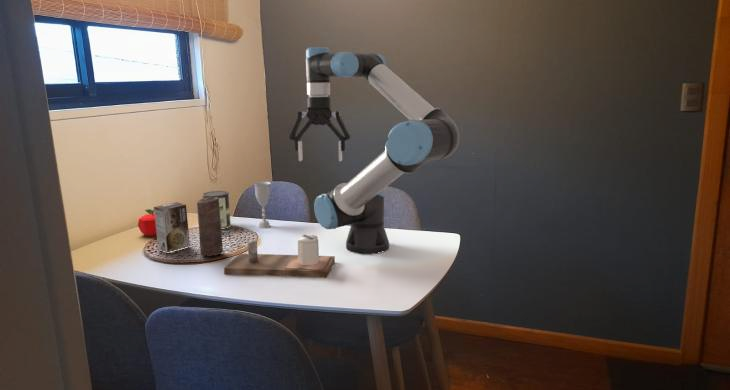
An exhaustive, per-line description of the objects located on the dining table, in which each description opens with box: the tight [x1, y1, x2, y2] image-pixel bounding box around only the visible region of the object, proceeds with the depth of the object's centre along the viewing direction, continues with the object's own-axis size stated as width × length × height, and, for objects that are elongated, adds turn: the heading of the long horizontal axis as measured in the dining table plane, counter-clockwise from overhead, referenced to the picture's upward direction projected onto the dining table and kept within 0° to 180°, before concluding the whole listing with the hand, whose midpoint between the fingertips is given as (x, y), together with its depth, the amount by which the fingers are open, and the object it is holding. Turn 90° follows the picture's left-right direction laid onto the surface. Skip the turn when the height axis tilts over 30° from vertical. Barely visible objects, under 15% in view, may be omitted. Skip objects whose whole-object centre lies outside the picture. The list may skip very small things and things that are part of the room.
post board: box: [223, 240, 336, 278], centre depth 166 cm, size 32×14×8 cm, turn 83°
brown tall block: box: [196, 197, 224, 257], centre depth 178 cm, size 8×7×20 cm
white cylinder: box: [297, 234, 320, 265], centre depth 165 cm, size 6×6×8 cm
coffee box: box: [153, 201, 191, 252], centre depth 185 cm, size 9×6×16 cm
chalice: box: [253, 181, 272, 229], centre depth 213 cm, size 7×7×18 cm
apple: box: [137, 209, 157, 237], centre depth 205 cm, size 11×11×10 cm
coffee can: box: [201, 190, 232, 229], centre depth 214 cm, size 10×10×14 cm
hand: (320, 160), depth 177 cm, fingers open, 13 cm apart
